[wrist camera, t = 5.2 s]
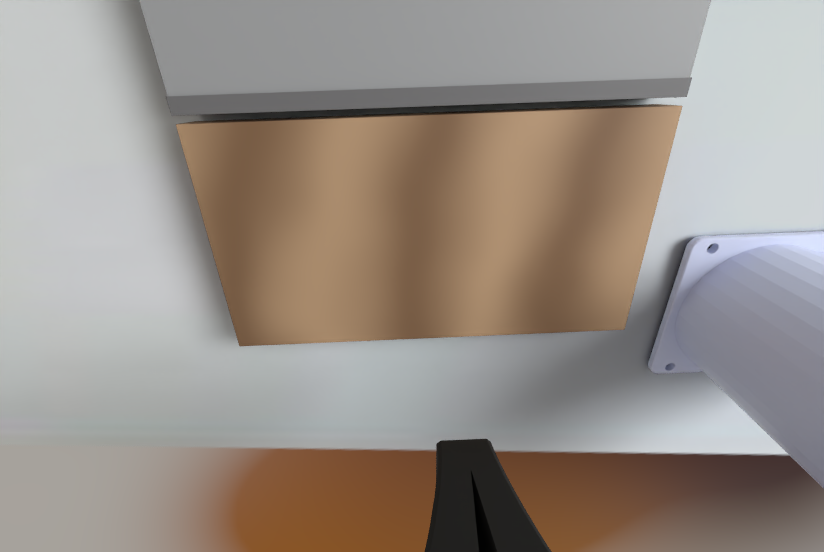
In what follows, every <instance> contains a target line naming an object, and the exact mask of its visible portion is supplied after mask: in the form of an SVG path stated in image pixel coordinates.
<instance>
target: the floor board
mask: <svg viewBox="0 0 824 552" xmlns="http://www.w3.org/2000/svg"><path fill="white" fill-rule="evenodd" d="M139 2H140V5H141V9H142V12H143V15H144V19H145V22H146V25H147V29H148V32H149V36H150V39H151V42H152V46H153V49H154V52H155V56H156V59H157V62H158V66H159V69H160V73H161V76H162V79H163V83H164V86H165V89H166V93H167V96H166V98H167V102H168V105H169V108H170V112H171V115H172V116H174V115H201V114H228V113H256V112H283V111H310V110H338V109H365V108H392V107H420V106H447V105H474V104H502V103H529V102H557V101H584V100H611V99H639V98H666V97H687V94H688V90H689V87H690V83H691V79H692V77H691V78H690V76H691V72H692V68H693V65H694V61H695V57H696V54H697V50H698V46H699V42H700V39H701V35H702V31H703V28H704V24H705V20H706V17H707V13H708V9H709V6H710V2H711V0H139Z"/></svg>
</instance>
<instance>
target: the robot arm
mask: <svg viewBox="0 0 824 552" xmlns="http://www.w3.org/2000/svg"><path fill="white" fill-rule="evenodd" d="M711 244H712V246H711V248H710V249H708V250H707V248H708V247H709V246H710V245H711ZM648 367H649V369H650V370H651V371H652V372H653V373H656V374H663V373H686V372H704V373H705V374H706V375H707V376H708V377H709V378H710V379H711V380H712V381H713V382H715V383H716V384H717V385H718V386H719V387H720V388H721V389H722V390H723V391H724V392H725V393H726V394H727V395H728V396H729V397H730V398H731V399H732V400H733V401H734V402H735V403H736V404H737V405H738V406H739V407H740V408H741V409H742V410H743V411H745V412H746V413H747V414H748V415H749V416H750V417H751V418H752V419H753V420H754V421H755V422H756V423H757V424H758V425H759V426H760V427H761V428H762V429H763V430H764V431H765V432H766V433H767V434H768V435H769V436H770V437H771V438H772V439H773V440H774V441H776V442H777V443H778V444H779V445H780V446H781V447H782V448H783V449H784V450H785V451H786V452H787V453H788V454H789V455H790V456H791V457H792V458H793V459H794V460H795V461H796V462H797V463H798V464H799V465H800V466H801V467H802V468H803V469H804V470H806V471H807V472H808V473H809V474H810V475H811V476H812V477H813V478H814V479H815V480H816V481H817V482H818V483H819V484H820V485H821V486H822V487H823V488H824V231H813V232H789V233H764V234H739V235H715V236H698V237H695V238H693V239H692V240H691V241H690V242H688V244H687V246H686V249H685V252H684V255H683V258H682V261H681V264H680V267H679V270H678V273H677V276H676V279H675V283H674V286H673V289H672V292H671V295H670V298H669V301H668V304H667V307H666V310H665V313H664V316H663V319H662V322H661V325H660V329H659V332H658V335H657V338H656V341H655V344H654V347H653V350H652V353H651V356H650V359H649V362H648ZM436 456H437V457H436V459H437V460H436V463H437V464H436V466H437V467H436V469H437V470H436V490H435V498H434V504H433V510H432V517H431V523H430V529H429V534H428V539H427V544H426V548H425V552H551V550H550V549H549V547H548V546H547V544H546V543H545V541H544V540H543V538H542V536H541V535H540V533H539V532H538V530H537V528H536V527H535V525H534V523H533V522H532V520H531V518H530V517H529V515H528V513H527V512H526V510H525V508H524V507H523V505H522V503H521V501H520V500H519V498H518V496H517V494H516V492H515V491H514V489H513V487H512V485H511V483H510V481H509V479H508V478H507V476H506V474H505V472H504V470H503V468H502V466H501V464H500V462H499V460H498V458H497V456H496V453H495V451H494V449H493V447H492V444H491V442H490V441H489V440H488V439H472V440H447V441H440V442H439V443H437V453H436Z"/></svg>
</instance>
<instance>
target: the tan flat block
mask: <svg viewBox="0 0 824 552" xmlns="http://www.w3.org/2000/svg"><path fill="white" fill-rule="evenodd" d="M681 109H682V106H676V105H661V104H650V105H622V106H595V107H568V108H541V109H514V110H486V111H459V112H432V113H405V114H378V115H350V116H323V117H296V118H269V119H241V120H214V121H194V122H188V123H182V124H176V127H177V130H178V134H179V137H180V141H181V144H182V148H183V151H184V155H185V158H186V162H187V165H188V169H189V172H190V176H191V179H192V182H193V186H194V189H195V193H196V196H197V200H198V203H199V207H200V210H201V214H202V217H203V221H204V224H205V228H206V231H207V235H208V238H209V242H210V245H211V249H212V252H213V256H214V259H215V263H216V266H217V270H218V273H219V276H220V280H221V283H222V287H223V290H224V294H225V297H226V301H227V304H228V308H229V311H230V315H231V318H232V322H233V325H234V329H235V332H236V336H237V339H238V343H239V346H254V345H278V344H301V343H324V342H347V341H371V340H394V339H417V338H440V337H464V336H487V335H510V334H533V333H556V332H580V331H603V330H624V329H625V326H626V322H627V318H628V314H629V310H630V306H631V302H632V298H633V295H634V291H635V287H636V283H637V279H638V275H639V271H640V268H641V264H642V260H643V256H644V252H645V248H646V244H647V241H648V237H649V233H650V229H651V225H652V221H653V217H654V214H655V210H656V206H657V202H658V198H659V194H660V190H661V187H662V183H663V179H664V175H665V171H666V167H667V163H668V160H669V156H670V152H671V148H672V144H673V140H674V136H675V133H676V129H677V125H678V121H679V117H680V113H681Z"/></svg>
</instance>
